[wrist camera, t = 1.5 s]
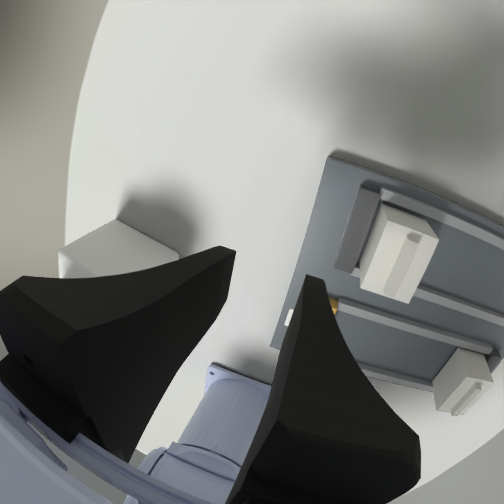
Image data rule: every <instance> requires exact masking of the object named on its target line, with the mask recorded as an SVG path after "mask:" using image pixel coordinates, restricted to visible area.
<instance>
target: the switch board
mask: <svg viewBox="0 0 504 504" xmlns="http://www.w3.org/2000/svg"><path fill="white" fill-rule="evenodd" d="M381 203H382V204H385V205H388V206H390V207H393V208H396V209H398V210H401V211H404V212H407V213H409V214H412V215H414V216H417V217H420V218H422V219H425V220H426V221H427V222H428V224H429V225H430V227H431V228H432V230H433V231H434V233H435V234H436V236H437V237H438V239H439V242H438V244H437V246H436V248H435V251H434V253H433V255H432V257H431V260H430V262H429V264H428V266H427V268H426V270H425V272H424V274H423V276H422V278H421V280H420V282H419V284H418V286H417V288H416V290H415V292H414V294H413V296H412V298H411V300H410V302H409V304H407V303H404V302H401V301H398V300H395V299H392V298H389V297H386V296H383V295H380V294H377V293H373V292H370V291H367V290H364V289H361V288H360V260H361V257H362V255H363V252H364V250H365V247H366V245H367V242H368V239H369V237H370V234H371V231H372V228H373V226H374V223H375V220H376V217H377V214H378V212H379V209H380V206H381ZM306 274H308V275H311V276H314V277H317V278H320V279H323V280H324V281H325V283H326V288H327V292H328V296H329V300H330V303H331V306H332V309H333V312H334V315H335V318H336V321H337V323H338V326H339V328H340V331H341V333H342V335H343V338H344V340H345V342H346V344H347V346H348V348H349V350H350V352H351V353H352V355H353V357H354V359H355V360H356V362H357V364H358V365H359V367H360V368H361V370H362V371H363V373H364V374H365V376H368V377H372V378H375V379H379V380H383V381H387V382H391V383H395V384H399V385H403V386H408V387H412V388H416V389H421V390H425V391H430V392H434V389H433V383H432V381H433V380H434V379H435V377H436V376H437V375H438V374H439V372H440V371H441V370H442V369H443V367H444V366H445V365H446V363H447V362H448V361H449V359H450V358H451V357H452V355H453V354H454V353H455V351H456V350H457V348H462V349H465V350H469V351H473V352H476V353H480V354H484V356H485V359H486V362H487V365H488V367H489V370H490V373H492V372H493V371H494V369H495V368H496V367H497V366H498V364H499V363H500V362H501V360H502V359H503V358H504V226H503V225H501V224H499V223H497V222H495V221H493V220H491V219H489V218H487V217H485V216H483V215H481V214H478V213H476V212H474V211H472V210H470V209H468V208H466V207H464V206H461V205H459V204H457V203H455V202H452V201H450V200H448V199H446V198H443V197H441V196H439V195H436V194H434V193H431V192H429V191H427V190H424V189H422V188H419V187H417V186H414V185H411V184H409V183H406V182H404V181H401V180H398V179H396V178H393V177H390V176H387V175H385V174H382V173H379V172H376V171H373V170H370V169H367V168H364V167H361V166H358V165H355V164H352V163H349V162H346V161H343V160H340V159H336V158H333V157H330V156H328V157H327V160H326V163H325V167H324V171H323V175H322V178H321V182H320V186H319V189H318V193H317V196H316V200H315V204H314V207H313V211H312V214H311V218H310V221H309V225H308V228H307V231H306V235H305V238H304V241H303V245H302V248H301V251H300V255H299V258H298V261H297V265H296V268H295V271H294V274H293V277H292V281H291V284H290V287H289V290H288V293H287V296H286V299H285V303H284V306H283V309H282V312H281V315H280V318H279V321H278V324H277V327H276V330H275V333H274V336H273V339H272V342H271V345H270V347H273V348H276V349H279V350H281V346H282V342H283V339H284V336H285V334H286V331H287V328H288V325H289V322H290V319H291V317H292V314H293V311H294V308H295V305H296V302H297V300H298V297H299V294H300V291H301V288H302V285H303V282H304V279H305V276H306Z"/></svg>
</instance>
